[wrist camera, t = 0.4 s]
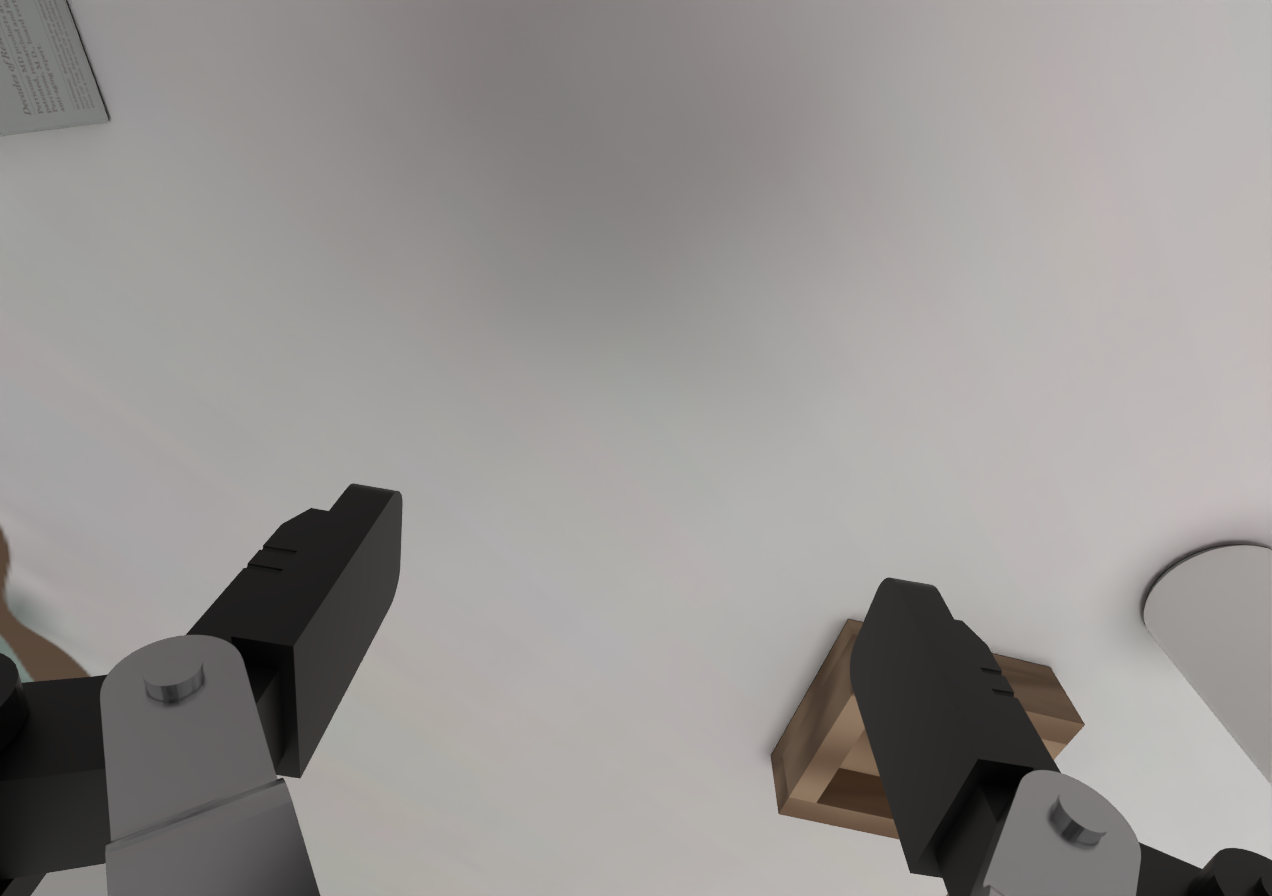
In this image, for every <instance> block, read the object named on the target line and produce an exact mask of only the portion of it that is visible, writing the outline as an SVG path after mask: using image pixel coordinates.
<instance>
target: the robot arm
mask: <svg viewBox="0 0 1272 896" xmlns="http://www.w3.org/2000/svg"><path fill="white" fill-rule="evenodd" d="M401 529H402V495H401V493H400V492H399V491H394V490H388V489H382V488H376V487H371V486H365V485H359V484H351V485H349V486H348V488H347V489H346V490H345V491H344V493H343V494H342V495H341V496H340V498H339V499H338V500H337V501H336V503H335V504H334V505H333V507H332V508H331V509H330V510H329V511H325V510H319V509H313V508H311V509H309V510H307V511H305V512H303V513H301V514H300V515H298V516H296V517H294V518H292V519H290V520H289V521H287V522H285V523H283V524H282V525H281V526H280V527H279V528H278V529H277V530H276V531H275V533H274V534H273V535H272V536H271V537H270V538H269V540H268V541H267V542H266V543H265V544H264V545H263V549H262V550H259V551H258V552H257V553H256V555H255V556H254V557H253V558H252V559H251V560H250V561H249V563H248V566H247V568H243V570H242V571H241V572H240V573H239V574H238V575H237V576H236V578H235V579H234V580H233V581H232V582H231V583H230V585H229V586H228V587H227V588H226V589H225V590H224V591H223V593H222V594H221V595H220V596H219V597H218V598H217V600H216V601H215V602H214V603H213V604H212V605H211V606H210V608H209V609H208V610H207V611H206V612H205V613H204V615H203V616H202V617H201V618H200V619H199V620H198V621H197V623H196V624H195V625H194V626H193V627H192V628H191V629H190V631H189V632H188V633H187V634H186V635H184V636H176V637H171V638H167V639H163V640H160V641H156V642H154V643H151V644H149V645H146V646H144V647H142V648H140V649H138V650H136V651H134V652H133V653H131V654H130V655H128V656H127V657H125V658H124V659H123V660H121V661H120V662H119V663H118V664H117V665H116V666H115V667H114V668H113V669H112V670H111V671H110V672H109V673H108V675H102V676H94V677H84V678H73V679H61V680H49V681H38V682H26V683H21V680H20V676H19V673H18V670H17V667H16V665H15V663H14V662H13V661H12V660H11V659H10V658H9V657H7V656H5V655H4V654H1V653H0V896H30V895H31V894H32V893H33V892H34V890H35V889H36V887H37V886H38V884H39V883H40V882H41V880H42V879H43V877H44V876H45V875H46V873H49V872H55V871H61V870H67V869H73V868H80V867H86V866H91V865H97V864H104V863H106V876H107V890H108V896H320V893H319V890H318V887H317V883H316V880H315V877H314V873H313V870H312V866H311V863H310V860H309V856H308V853H307V850H306V846H305V843H304V839H303V836H302V833H301V829H300V826H299V823H298V819H297V816H296V813H295V809H294V806H293V802H292V799H291V796H290V793H289V790H288V787H287V785H286V782H285V781H284V779H283V778H280V779H277V776H276V775H282V776H288V777H295V778H301V776H302V774H303V772H304V770H305V769H306V767H307V765H308V763H309V761H310V759H311V757H312V755H313V753H314V751H315V749H316V748H317V746H318V744H319V742H320V740H321V738H322V736H323V734H324V732H325V730H326V728H327V727H328V725H329V723H330V721H331V719H332V717H333V715H334V713H335V711H336V709H337V707H338V705H339V704H340V702H341V700H342V698H343V696H344V694H345V692H346V690H347V688H348V686H349V684H350V683H351V681H352V679H353V677H354V675H355V673H356V671H357V669H358V667H359V665H360V663H361V662H362V660H363V658H364V656H365V654H366V652H367V650H368V648H369V646H370V644H371V642H372V641H373V639H374V637H375V635H376V633H377V631H378V629H379V627H380V625H381V623H382V621H383V619H384V618H385V616H386V614H387V612H388V610H389V608H390V606H391V604H392V601H393V598H394V595H395V592H396V588H397V584H398V580H399V573H400V556H401ZM850 680H851V685H852V688H853V691H854V695H855V698H856V701H857V704H858V707H859V711H860V714H861V717H862V720H863V723H864V727H865V730H866V733H867V736H868V739H869V743H870V746H871V749H872V752H873V755H874V759H875V762H876V765H877V768H878V772H879V775H880V778H881V781H882V784H883V788H884V791H885V794H886V797H887V800H888V804H889V807H890V810H891V813H892V816H893V820H894V823H895V826H896V829H897V832H898V836H899V839H900V842H901V845H902V848H903V852H904V855H905V858H906V861H907V864H908V868H909V871H910V873H913V874H920V875H927V876H933V877H940V878H943V880H944V883H945V886H946V889H947V892H948V894H947V895H946V896H1272V860H1270V859H1268V858H1266V857H1264V856H1262V855H1259V854H1257V853H1254V852H1251V851H1247V850H1244V849H1237V848H1226V849H1223V850H1220V851H1219V852H1218V853H1217V854H1216V855H1215V856H1214V857H1213V858H1212V859H1211V860H1210V861H1209V862H1208V863H1207V864H1206V866H1205V867H1204V868H1203V869H1201V868H1198V867H1196V866H1194V865H1191V864H1189V863H1187V862H1184V861H1182V860H1179V859H1177V858H1175V857H1172V856H1170V855H1168V854H1165V853H1163V852H1161V851H1158V850H1156V849H1154V848H1151V847H1149V846H1146V845H1144V844H1142V843H1140V842H1138V840H1137V837H1136V835H1135V833H1134V831H1133V830H1132V828H1131V826H1130V825H1129V823H1128V822H1127V821H1126V819H1125V818H1124V817H1123V815H1122V814H1121V813H1120V812H1119V811H1118V810H1117V809H1116V808H1115V807H1114V806H1113V805H1112V804H1111V803H1110V802H1109V801H1108V800H1107V799H1105V798H1104V797H1103V796H1102V795H1100V794H1099V793H1098V792H1097V791H1095V790H1094V789H1092V788H1091V787H1089V786H1087V785H1086V784H1084V783H1082V782H1080V781H1079V780H1077V779H1074V778H1072V777H1070V776H1068V775H1065V774H1062V773H1061V772H1060V771H1059V769H1058V767H1057V765H1056V764H1055V762H1054V760H1053V758H1052V757H1051V755H1050V753H1049V752H1048V750H1047V748H1046V746H1045V745H1044V743H1043V741H1042V739H1041V738H1040V736H1039V734H1038V732H1037V731H1036V729H1035V727H1034V725H1033V724H1032V722H1031V720H1030V719H1029V717H1028V715H1027V713H1026V712H1025V710H1024V708H1023V706H1022V705H1021V703H1020V701H1019V699H1018V698H1015V697H1014V691H1013V689H1012V687H1011V686H1010V684H1009V682H1008V680H1007V679H1006V677H1005V676H1002V670H1001V668H1000V666H999V665H998V663H997V661H996V660H995V658H994V656H993V654H992V653H991V651H990V649H989V647H988V646H987V645H986V644H985V643H984V642H983V641H982V640H981V639H980V638H979V637H978V636H977V635H976V634H975V633H974V632H973V631H972V630H971V629H970V628H969V627H968V626H967V625H966V624H965V623H964V622H963V621H960V620H954V618H953V616H952V615H951V613H950V611H949V609H948V607H947V605H946V604H945V602H944V600H943V598H942V596H941V594H940V593H939V591H938V589H937V588H936V587H935V586H933V585H929V584H923V583H917V582H912V581H906V580H900V579H894V578H886V579H884V580H883V581H882V582H881V584H880V585H879V587H878V590H877V592H876V594H875V597H874V599H873V601H872V604H871V606H870V608H869V611H868V613H867V615H866V617H865V620H864V622H863V624H862V627H861V629H860V631H859V634H858V636H857V638H856V641H855V643H854V646H853V649H852V652H851V658H850Z"/></svg>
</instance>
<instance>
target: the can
mask: <svg viewBox="0 0 1272 896" xmlns="http://www.w3.org/2000/svg"><path fill="white" fill-rule="evenodd" d="M1144 622H1145V625H1146V627H1147V629H1148V631H1149V632H1150V634H1151V635H1152V637H1153V638H1154V639H1155V641H1156V642H1157V643H1158V645H1159V646H1160V647H1161V648H1162V650H1163V651H1164V652H1165V653H1166V655H1167V656H1168V657H1169V659H1170V660H1171V661H1172V662H1173V664H1174V665H1175V666H1176V667H1177V669H1178V670H1179V671H1180V672H1181V674H1182V675H1183V676H1184V677H1185V679H1186V680H1187V681H1188V682H1189V684H1190V685H1191V686H1192V687H1193V689H1194V690H1195V691H1196V692H1197V694H1198V695H1199V696H1200V697H1201V699H1202V700H1203V701H1204V702H1205V704H1206V705H1207V706H1208V707H1209V709H1210V710H1211V711H1212V712H1213V714H1214V715H1215V716H1216V717H1217V718H1218V720H1219V721H1220V722H1221V723H1222V725H1223V726H1224V727H1225V728H1226V730H1227V731H1228V732H1229V733H1230V735H1231V736H1232V737H1233V738H1234V740H1235V741H1236V742H1237V743H1238V745H1239V746H1240V747H1241V748H1242V750H1243V751H1244V752H1245V753H1246V754H1247V756H1248V757H1249V758H1250V759H1251V761H1252V762H1253V763H1254V764H1255V766H1256V767H1257V768H1258V769H1259V771H1260V772H1261V773H1262V774H1263V775H1264V777H1265V778H1266V779H1267V780H1268V782H1269V783H1270V784H1271V785H1272V550H1271V549H1268V548H1264V547H1259V546H1248V545H1227V546H1219V547H1214V548H1210V549H1207V550H1203V551H1201V552H1198V553H1195V554H1193V555H1191V556H1189V557H1187V558H1185V559H1183V560H1181V561H1179V562H1178V563H1176V564H1175V565H1173V566H1172V567H1171V568H1169V569H1168V570H1167V571H1166V572H1165V573H1163V574H1162V575H1161V576H1160V578H1159V579H1158V580H1157V581H1156V582H1155V584H1154V585H1153V587H1152V588H1151V590H1150V592H1149V594H1148V597H1147V600H1146V604H1145V608H1144Z"/></svg>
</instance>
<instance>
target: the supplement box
mask: <svg viewBox="0 0 1272 896" xmlns="http://www.w3.org/2000/svg"><path fill="white" fill-rule="evenodd" d="M107 121H108V117H107V114H106V111H105V108H104V105H103V102H102V99H101V97H100V94H99V91H98V88H97V85H96V82H95V79H94V77H93V74H92V71H91V69H90V66H89V63H88V61H87V58H86V55H85V52H84V50H83V47H82V44H81V41H80V38H79V35H78V32H77V30H76V27H75V25H74V22H73V19H72V17H71V14H70V11H69V8H68V5H67V3H66V0H0V136H6V135H13V134H20V133H27V132H35V131H43V130H51V129H59V128H67V127H74V126H82V125H89V124H101V123H106V122H107Z"/></svg>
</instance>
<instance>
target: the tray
mask: <svg viewBox="0 0 1272 896" xmlns="http://www.w3.org/2000/svg"><path fill="white" fill-rule="evenodd" d="M862 624H863V623H862V622H858V621H854V620H849V619H848V621H847V623H846V624H845V626H844V628H843V630H842V632H841V633H840V635H839V637H838V639H837V640H836V642H835V644H834V646H833V647H832V649H831V651H830V653H829V654H828V656H827V658H826V660H825V662H824V663H823V665H822V667H821V669H820V670H819V672H818V674H817V676H816V677H815V679H814V681H813V683H812V684H811V686H810V688H809V690H808V691H807V693H806V695H805V697H804V699H803V700H802V702H801V704H800V706H799V707H798V709H797V711H796V713H795V714H794V716H793V718H792V720H791V721H790V723H789V725H788V727H787V729H786V730H785V732H784V734H783V736H782V737H781V739H780V741H779V743H778V744H777V746H776V748H775V750H774V751H773V753H772V755H771V762H772V769H773V776H774V784H775V791H776V798H777V806H778V813H779V814H781V815H786V816H791V817H795V818H800V819H805V820H810V821H815V822H819V823H824V824H829V825H834V826H838V827H843V828H848V829H853V830H857V831H862V832H867V833H872V834H876V835H881V836H886V837H891V838H895V839H899V836H898V832H897V829H896V826H895V823H894V820H893V816H892V813H891V810H890V807H889V804H888V800H887V797H886V794H885V791H884V788H883V784H882V781H881V778H880V775H879V772H878V768H877V765H876V762H875V759H874V755H873V752H872V749H871V746H870V743H869V739H868V736H867V733H866V730H865V727H864V723H863V720H862V717H861V714H860V711H859V707H858V704H857V701H856V698H855V695H854V691H853V688H852V685H851V680H850V658H851V652H852V649H853V646H854V643H855V641H856V638H857V636H858V634H859V631H860V629H861V627H862ZM993 656H994V658H995V660H996V661H997V663H998V665H999V666H1000V668H1001V670H1002V676H1005V677H1006V679H1007V680H1008V682H1009V684H1010V686H1011V687H1012V689H1013V691H1014V697H1015V698H1018V699H1019V701H1020V703H1021V705H1022V706H1023V708H1024V710H1025V712H1026V713H1027V715H1028V717H1029V719H1030V720H1031V722H1032V724H1033V725H1034V727H1035V729H1036V731H1037V732H1038V734H1039V736H1040V738H1041V739H1042V741H1043V743H1044V745H1045V746H1046V748H1047V750H1048V752H1049V753H1050V755H1051V757H1052V758H1053V760H1054V759H1055V758H1056V757H1057V756H1058V754H1059V753H1060V752H1061V751H1062V750H1063V749H1064V748H1065V747H1066V745H1067V744H1068V743H1069V742H1070V741H1071V740H1072V739H1073V738H1074V736H1075V735H1076V734H1077V733H1078V732H1079V731H1080V730H1081V729H1082V727H1083V726H1084V725H1085V724H1084V722H1083V721H1082V719H1081V717H1080V716H1079V714H1078V712H1077V711H1076V709H1075V707H1074V706H1073V704H1072V702H1071V701H1070V699H1069V697H1068V696H1067V694H1066V692H1065V691H1064V689H1063V687H1062V686H1061V684H1060V682H1059V681H1058V679H1057V677H1056V676H1055V674H1054V673H1053V671H1052V669H1051V668H1050V667H1046V666H1042V665H1038V664H1034V663H1030V662H1025V661H1021V660H1017V659H1013V658H1009V657H1005V656H1000V655H996V654H993Z"/></svg>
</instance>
